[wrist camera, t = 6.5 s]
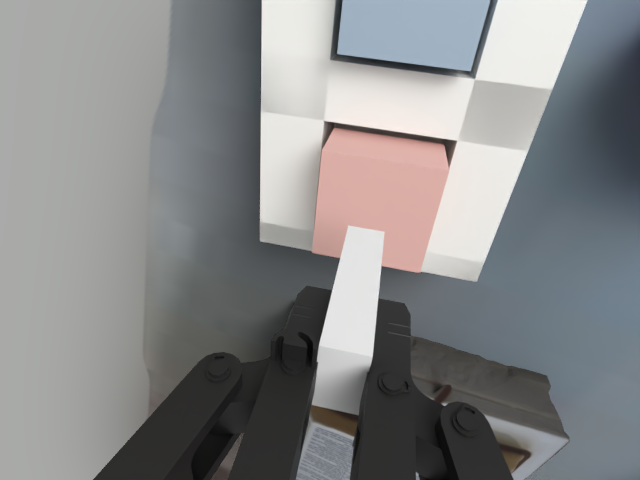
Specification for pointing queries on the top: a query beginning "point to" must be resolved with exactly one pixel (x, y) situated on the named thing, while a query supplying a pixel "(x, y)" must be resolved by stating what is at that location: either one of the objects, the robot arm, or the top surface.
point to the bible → (445, 387)
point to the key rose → (379, 193)
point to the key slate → (413, 31)
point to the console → (407, 116)
